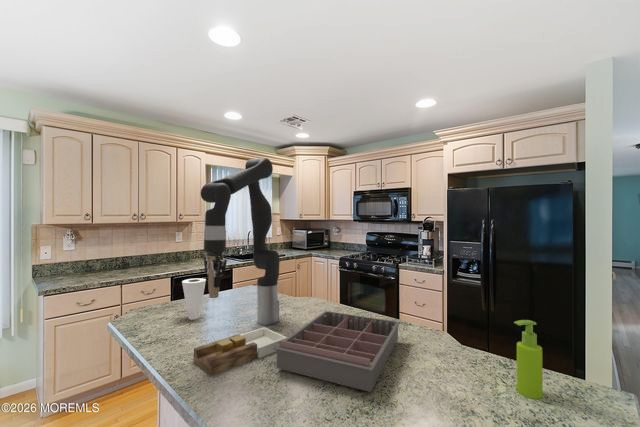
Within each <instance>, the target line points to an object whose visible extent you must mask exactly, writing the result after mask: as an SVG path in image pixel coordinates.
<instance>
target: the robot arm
mask: <svg viewBox="0 0 640 427" xmlns="http://www.w3.org/2000/svg"><path fill="white" fill-rule="evenodd" d="M244 168H245V169H243V170H239V171H235V172H233V173H231V174H229V175H226V176H224V177H223V178H220V179H216V180H213V181H210V182H207V183H206V184H204V185H203V186H202V188H201V190H200V197H201V199H202V200H203V201H204V202H206V203H209V204H214V205H213V207H212V208H210V209H207V210H206V211H205V215H204V216H205V217H204V222H205V223H204V231H203V252H205V253H207V255H211V256H215V261H213V260H211V261H210V262H211V265H212V270H213V271H214V287H215V288H217V287H220V288H221V285H222V284H221V281H222V279H221V278H222V276H224V275H225V272H226V269H227V267H226V266H227V262H228V261H227V259H225V258H224V256H223V257H222V255H223V252H226V249H227V230H226V226H227V225H226V223H227V221H226V220H227V219H226V215H227V212H228V208H229V204H230V201H231V197H232V195H234V194H236V193H238V192H239V191H241V190H242V189H244V188H245V187H248V192H249V201H250V216H251V224H252V238H253V239H252V241H253V244H252V245H253V250H252V253H253V255H252V256H253V257H252V258H253V264H254V266H255V268H256V269H258V270H265V271H264V275H263V276H260V277H258V278H257V281H256V282H257V284H256V287H257V289H256V290H257V291H256V292H257V293H256V294H257V295H256V296H257V302H256V303H257V306H256V307H257V308H256V310H257V314H256V315H257V316H256V317H257V318H256V319H257V321H256V322H257V324H259V325H265V326H267V325H273V324H276V323H277V322H279V321H280V300H279V299H278V280H279V277H280V264H281V261H280V255H279V252H278V251H276V250H273V249H267V243H266V241H267V240H266V239H267V235H268V233H269V231H270V229H271V226H272V224H273V216H272V215H273V214H272V207H271V204H270V202H269V201H268V199H267V198H266V196H265V195H264V194H263V192H262V189H261V186H260V180H264V179H268V178H269V177H271V176H272V174H273V170H274V169H273V164H272V162H271V160H270V159H268V158H266V157H258V158H250V159H247V160H246V163H245V166H244ZM222 258H223V259H222ZM210 262H209V261H208V260H207V259H206V256H203V264H204V266H203V267H204V273H205V274H207V283H208V282H209V281H208V280H209V268H210ZM215 267H217V268H215ZM216 270H217V272H216Z"/></svg>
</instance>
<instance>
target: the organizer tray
mask: <svg viewBox="0 0 640 427" xmlns="http://www.w3.org/2000/svg"><path fill="white" fill-rule="evenodd" d="M400 324H401V322H400V321H395V320H389V319H388V320H387V319H381V318H375V317H369V316H368V317H367V316H361V315H357V314H356V315H355V314H349V313H343V312H335V311H330V310H329V311H328V310H325V311H324V312H322V313H320V314H319V315H318V316H316V317H315V318H313V319H312V320H311V321H309V322H307V323H306V324H305V325H304V326H302V327H301V328H299V330H297V331H295V332H294V333H292V334H291V335H290V336H288V337H287V339H286V340H284V341H281V340H280V341H279V344H278V345H277V346H276V347H274V349H277V351H276V369H279V370H284V371H288V372H291V373H295V374H300V375H304V376H306V377H307V376H308V377H311V378H315V379H318V380H322V381H327V382H331V383H335V384H337V385H338V384H339V385H342V386H346V387H348V388H349V387H350V388H353V389H358V390H361V391H366V392H368V393H372V390H373V389H374V386H375V384H376V383H377V381H378V380H379V377H380V375H381V373H382V371H383V369H384V368H385V365H386V364H387V362H388V360H389V357H390V355H391V353H392V352H393V350H394V348H395V345H396V343H397V342H398V340H399V326H400Z"/></svg>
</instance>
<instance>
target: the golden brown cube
mask: <svg viewBox="0 0 640 427" xmlns="http://www.w3.org/2000/svg"><path fill="white" fill-rule="evenodd" d="M237 335H238V334H237ZM234 336H235V335H234ZM230 341H232V342H233V349H236V348H239V347H242V346H244V345H246V338H245V337H243V336H241V334H239V335H238V336H235V337H232V338H230Z"/></svg>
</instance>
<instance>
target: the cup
mask: <svg viewBox="0 0 640 427" xmlns="http://www.w3.org/2000/svg"><path fill="white" fill-rule="evenodd" d="M206 281H207V279H206V278H203V277H202V278H200V277H199V278H198V277H197V278H196V277H195V278H187V279H184V280H182V281H181V284H182V289H183V290H182V291H183V293H184V294H183V295H184V300H185V301H184V302H185V304H186V305H185V306H186V311H187V317H188V320H189V319H190V321H194V320H198V319H200V316H201V313H202V312H201V311H202V304H203V298H204V294H205V293H204V292H205V287H206Z"/></svg>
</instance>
